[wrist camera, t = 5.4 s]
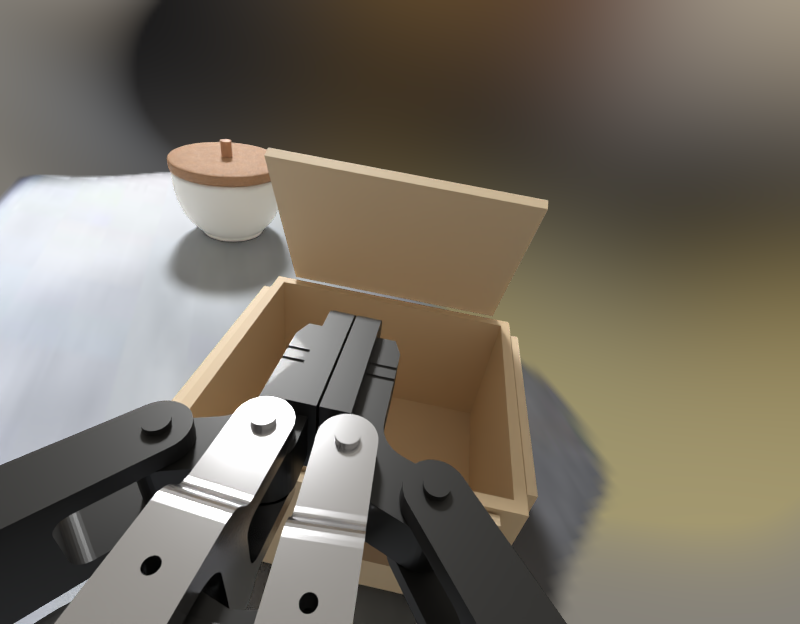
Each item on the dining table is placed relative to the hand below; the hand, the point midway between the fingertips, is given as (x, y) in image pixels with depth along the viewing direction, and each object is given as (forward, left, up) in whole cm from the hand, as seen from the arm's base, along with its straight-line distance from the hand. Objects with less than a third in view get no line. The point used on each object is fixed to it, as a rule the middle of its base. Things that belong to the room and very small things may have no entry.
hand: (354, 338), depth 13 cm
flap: (-6, +10, -6) cm, 13 cm away
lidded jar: (-33, +17, -14) cm, 39 cm away
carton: (-3, +5, -14) cm, 15 cm away
